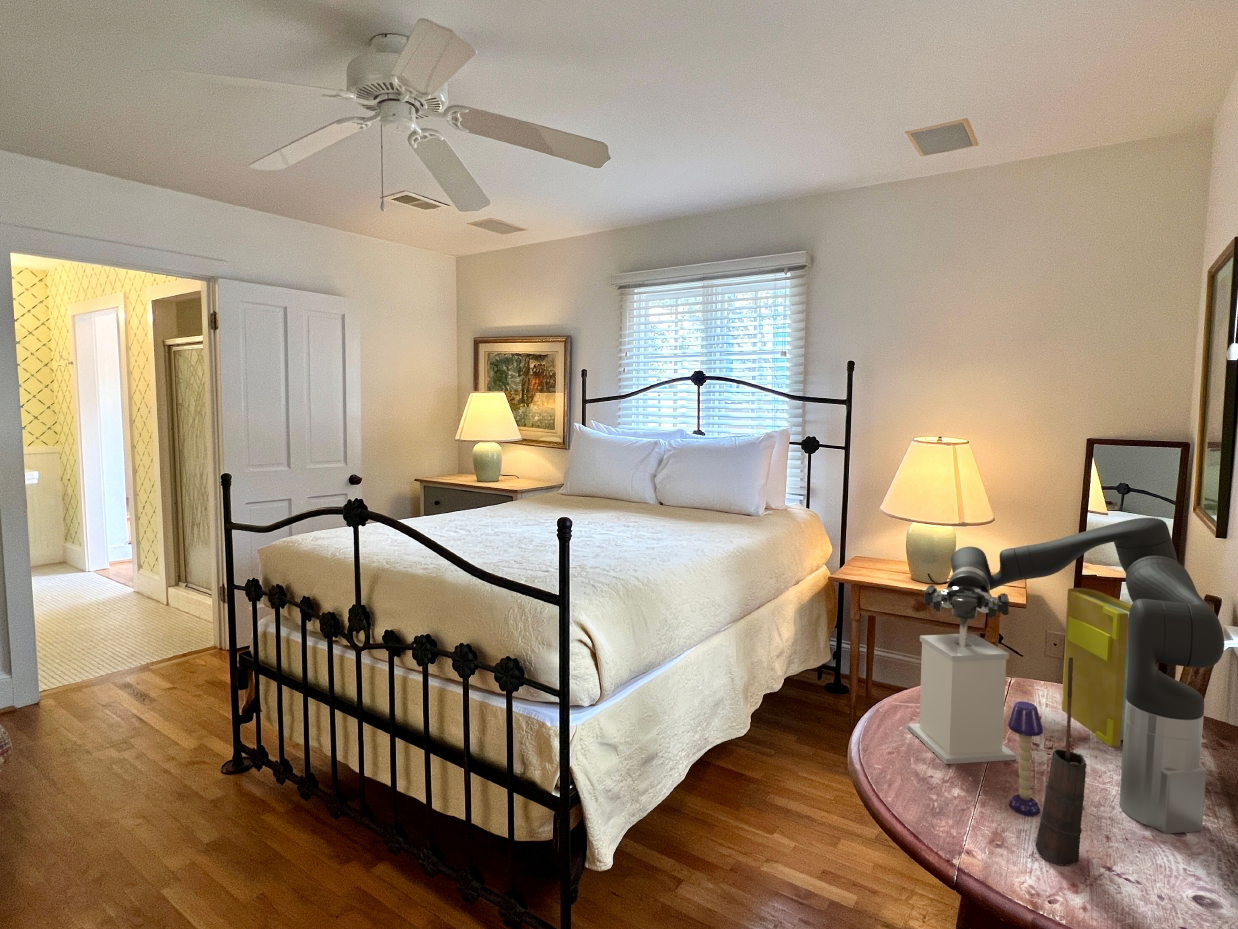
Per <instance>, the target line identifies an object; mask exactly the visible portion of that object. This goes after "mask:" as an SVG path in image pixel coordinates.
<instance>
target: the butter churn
mask: <svg viewBox="0 0 1238 929" xmlns="http://www.w3.org/2000/svg"><path fill="white" fill-rule="evenodd" d="M1072 673H1073V658H1072V657H1070V658H1069V661H1068V691H1067V696H1068V698H1067V714H1066V734H1065V735H1066V737H1065V738H1066V741H1065V749H1062V748H1061V749H1059V748H1057V749H1054V750H1053V752H1052V755H1051V756H1052V757H1051V760H1050V766H1049V772H1048V773H1049V774H1048V779H1047V784H1046V786H1045V794H1044V799H1043V805H1042V810H1041V814H1040V818H1039V825H1038V830H1037V834H1036V840H1035V848H1036V850H1037V854H1038V855H1039V856H1040V857H1042V858H1043V859H1045V860H1047V861H1048V862H1051V863H1053V864H1056V865H1059V866H1064V867H1067V866H1069V865H1075V863H1079V861H1080V849H1081V848H1080V846H1081V834H1082V833H1083V830H1082V817H1083V809H1084V801H1085V787H1086V775H1087V772H1086V771H1087V770H1086V769H1087V763H1086V760H1085V758H1084V756H1083V755H1082V753H1078V752H1074V751H1072V750H1071V745H1072V744H1071V743H1072V742H1071V740H1070V739H1071V738H1072V735H1071V732H1072V731H1071V730H1072V717H1071V701H1072V681H1073V680H1072V678H1073V677H1072Z"/></svg>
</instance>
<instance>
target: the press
mask: <svg viewBox="0 0 1238 929" xmlns="http://www.w3.org/2000/svg"><path fill="white" fill-rule="evenodd" d="M959 638H960V633H952V634H951V633H950V634H929V635H928V634H925V635H919V641H920V642H921V660H920V661H921V662H920V663H921V667H920V669H921V670H920V694H919V696H920V697H919V720H918V721H919V723H907V730H908V729H909V730H910V731H911V732H912V733H913V734H912V733H911V732H910V731H909V730H908V731H909V732H910V733H911V734H912V735H913V736H915V737H916V736H917V737H918V738H919V739H918V738H917V737H916V738H917V739H918V740H919V741H920V740H921V741H922V742H923V743H924V744H925V745H924V744H923V743H922V742H921V741H920V742H921V743H922V744H923V745H924V746H926V748H928V750H930V752H932V753H933V752H934V753H935V754H936V755H937V756H936V755H935V754H934V753H933V754H934V755H935V756H936V757H937V758H939V759H940V760H941V761H942V763H944V764H945V765H953V764H966V763H967V764H968V763H970V764H971V763H985V762H986V763H988V762H1001V761H1002V762H1003V761H1015V760H1016V756H1017V754H1016V753H1015V752H1013V751H1012V750H1010V748H1008V747H1007V746H1005V745H1004V744H1003V743H1004V723H1005V722H1004V719H1005V697H1006V696H1005V694H1006V675H1007V660H1009V659H1010V653H1009V652H1007V651H1005V649H1002V648H1000V647H998V646H996V645H995V644H993V643H991V642H990V641H988V640H986V639H985V638H982V637H981V636H978V635H977V634H974V633H967V647H960V646H959Z"/></svg>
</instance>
